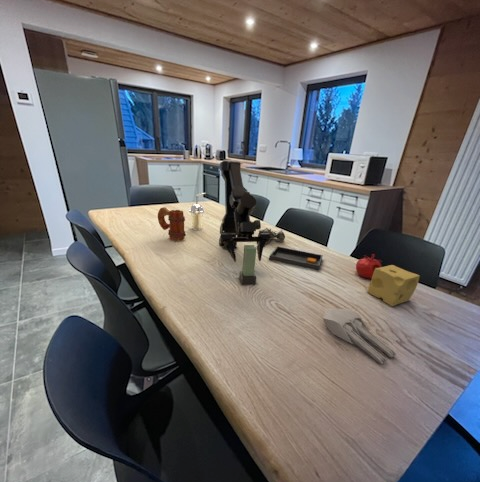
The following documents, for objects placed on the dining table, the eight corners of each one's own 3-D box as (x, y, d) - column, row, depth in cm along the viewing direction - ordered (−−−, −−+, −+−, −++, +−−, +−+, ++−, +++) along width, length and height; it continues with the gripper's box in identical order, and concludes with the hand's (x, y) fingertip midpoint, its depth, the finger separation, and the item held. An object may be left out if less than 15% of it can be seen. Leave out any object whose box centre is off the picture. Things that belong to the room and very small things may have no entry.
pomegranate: (350, 274, 108) (355, 253, 104) (359, 268, 115) (364, 248, 111) (374, 283, 103) (382, 261, 98) (382, 276, 109) (389, 255, 105)
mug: (189, 238, 134) (189, 209, 128) (181, 243, 127) (180, 212, 121) (164, 233, 138) (163, 205, 132) (155, 238, 131) (153, 208, 125)
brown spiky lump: (290, 240, 133) (268, 223, 128) (276, 255, 137) (254, 240, 132) (285, 232, 143) (264, 216, 138) (272, 246, 147) (251, 232, 142)
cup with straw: (189, 226, 153) (189, 190, 145) (205, 226, 155) (205, 191, 146) (188, 230, 146) (188, 193, 137) (205, 231, 147) (205, 194, 138)
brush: (242, 284, 94) (245, 249, 88) (239, 278, 98) (241, 244, 93) (255, 284, 95) (259, 249, 89) (251, 277, 100) (255, 244, 94)
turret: (372, 374, 63) (381, 361, 60) (313, 319, 76) (318, 307, 74) (394, 359, 68) (403, 346, 66) (335, 310, 81) (340, 298, 79)
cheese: (392, 307, 87) (402, 280, 83) (365, 291, 96) (373, 267, 91) (411, 301, 92) (421, 275, 88) (383, 287, 100) (392, 263, 96)
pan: (268, 260, 115) (269, 255, 114) (276, 251, 127) (277, 246, 125) (318, 271, 109) (319, 265, 108) (321, 260, 120) (322, 255, 119)
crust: (306, 263, 114) (307, 260, 114) (307, 260, 117) (308, 257, 117) (314, 264, 113) (315, 261, 113) (315, 262, 116) (316, 258, 116)
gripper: (221, 210, 90) (225, 253, 85) (272, 211, 94) (279, 252, 90) (217, 226, 100) (220, 265, 96) (263, 226, 105) (269, 263, 100)
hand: (247, 261), depth 95 cm, fingers open, 9 cm apart
